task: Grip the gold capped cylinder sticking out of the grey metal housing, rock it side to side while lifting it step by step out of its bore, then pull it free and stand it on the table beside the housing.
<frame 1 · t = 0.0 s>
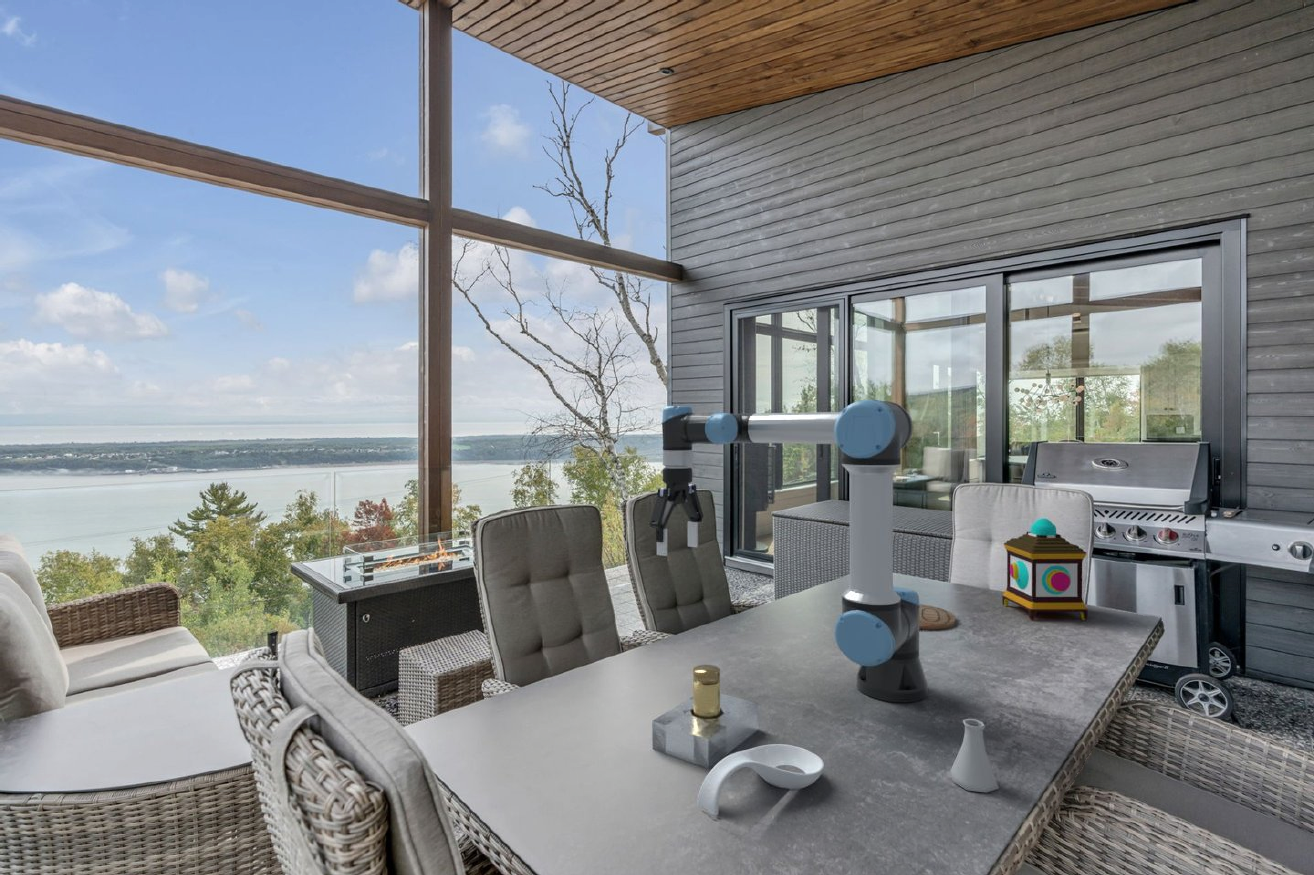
hand: (677, 551, 166), 28 cm above the table, tool pointing down, fingers open, 13 cm apart
decorative lantern: (1043, 613, 208), on the table
flask: (973, 783, 110), on the table
trivet: (911, 620, 203), on the table
spoon rest: (762, 793, 107), on the table
bore housing: (706, 743, 123), on the table
gold capped cylinder: (706, 738, 123), point 1 cm above the table, touching bore housing
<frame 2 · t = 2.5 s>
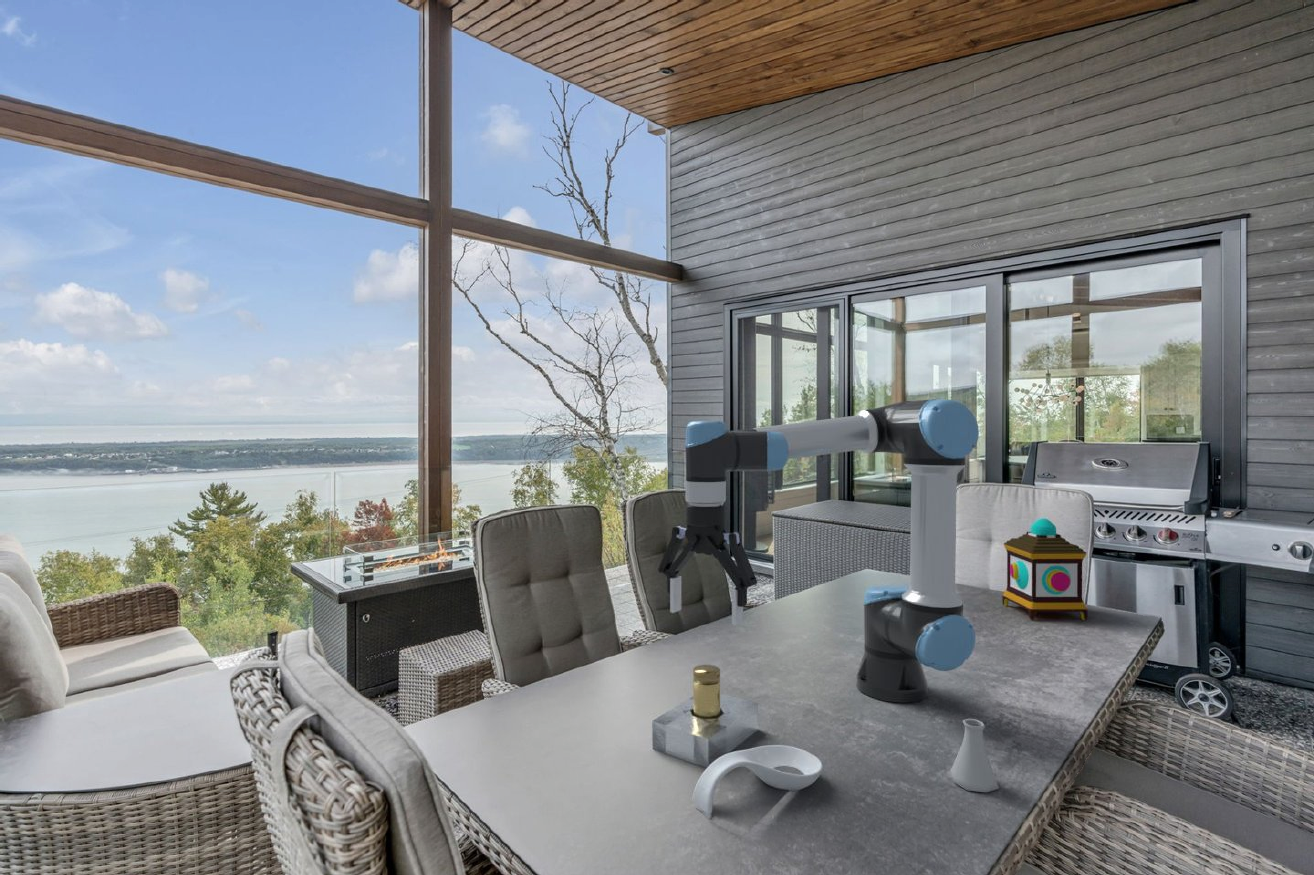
hand: (705, 617, 123), 24 cm above the table, tool pointing down, fingers open, 13 cm apart
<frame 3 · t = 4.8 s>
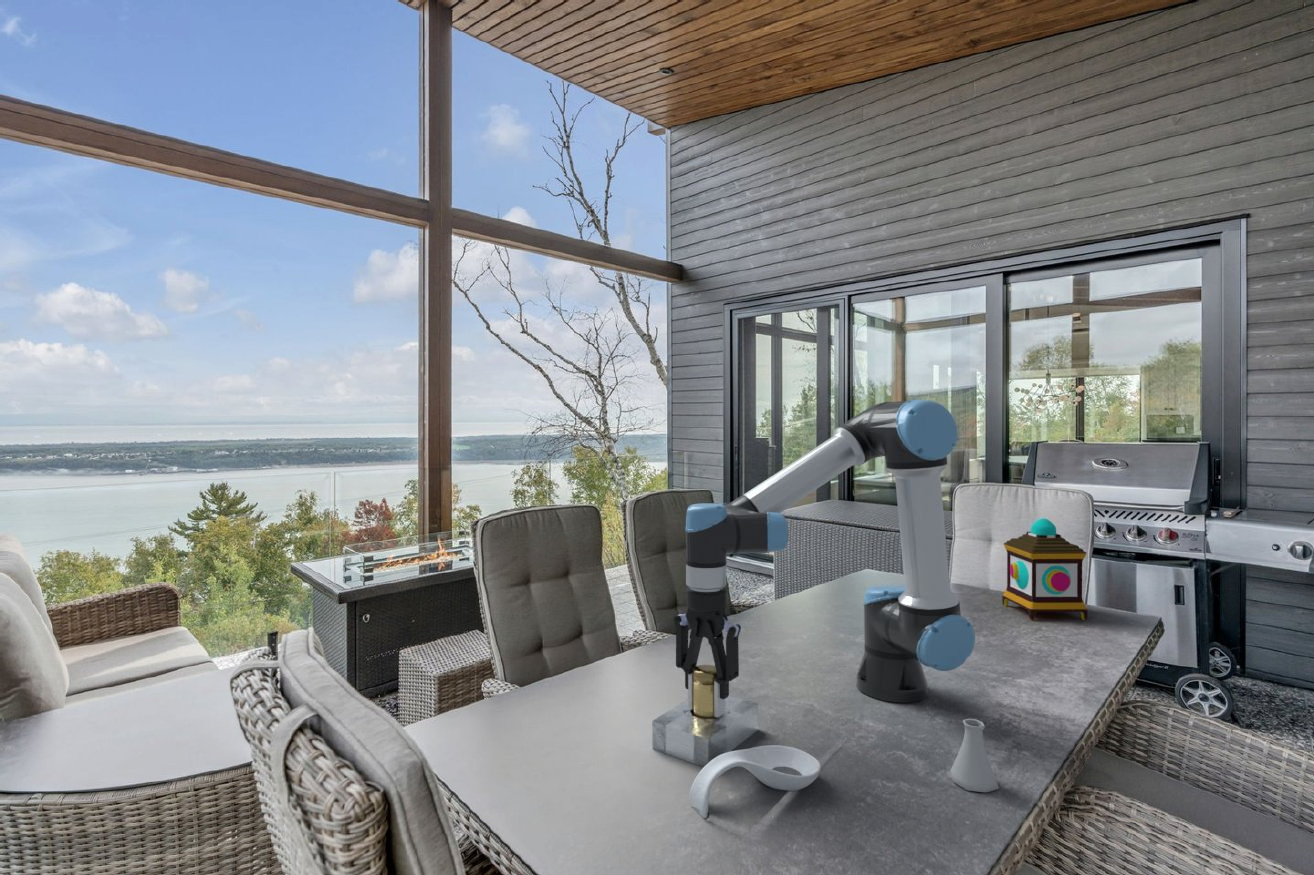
hand: (706, 710, 123), 6 cm above the table, tool pointing down, fingers closed on gold capped cylinder, 5 cm apart
gold capped cylinder: (706, 738, 123), point 1 cm above the table, touching bore housing, gripper
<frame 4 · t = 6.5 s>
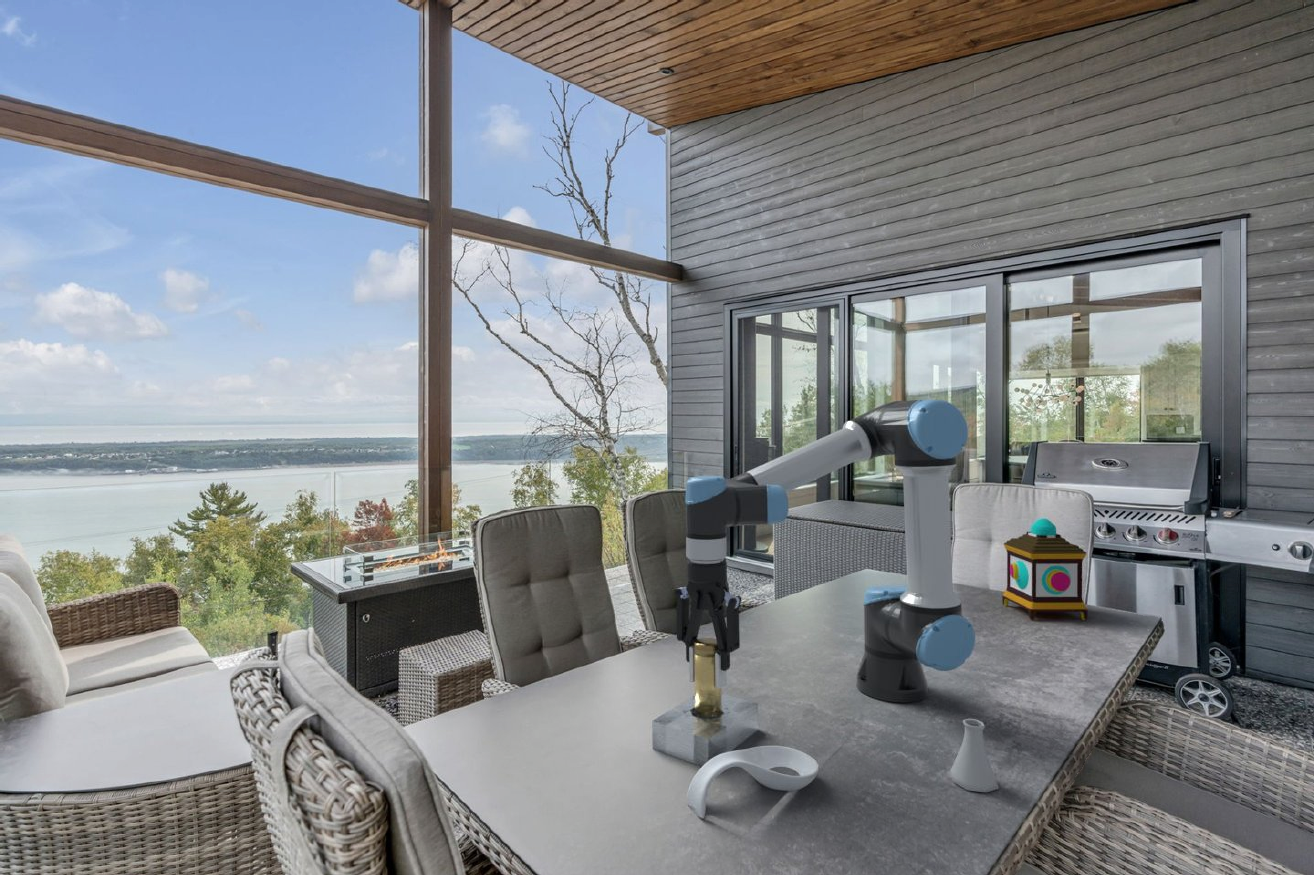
hand: (708, 682, 123), 11 cm above the table, tool pointing down, fingers closed on gold capped cylinder, 5 cm apart
gold capped cylinder: (708, 710, 123), point 6 cm above the table, touching gripper
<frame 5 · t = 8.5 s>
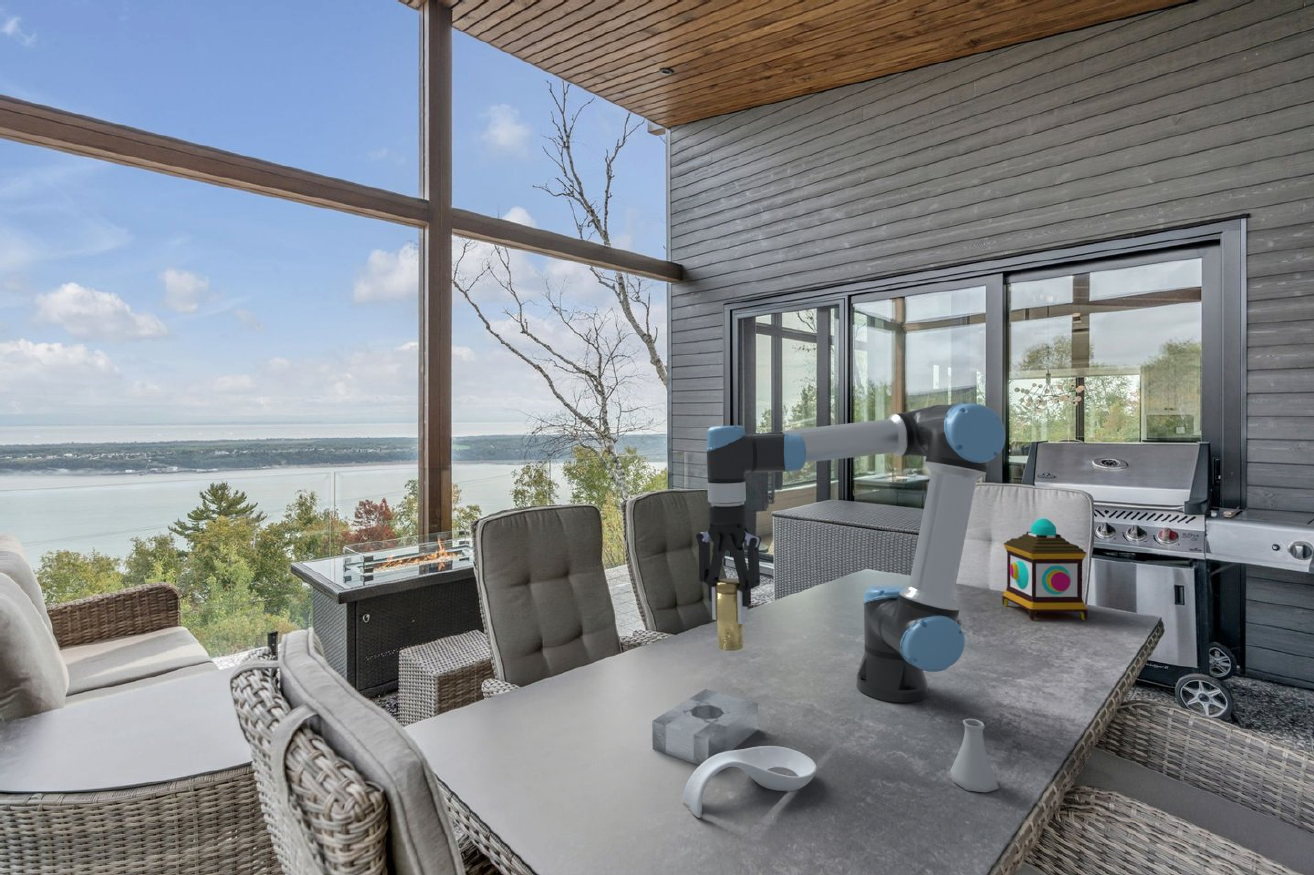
hand: (730, 619, 131), 21 cm above the table, tool pointing down, fingers closed on gold capped cylinder, 5 cm apart
gold capped cylinder: (730, 646, 131), point 16 cm above the table, touching gripper
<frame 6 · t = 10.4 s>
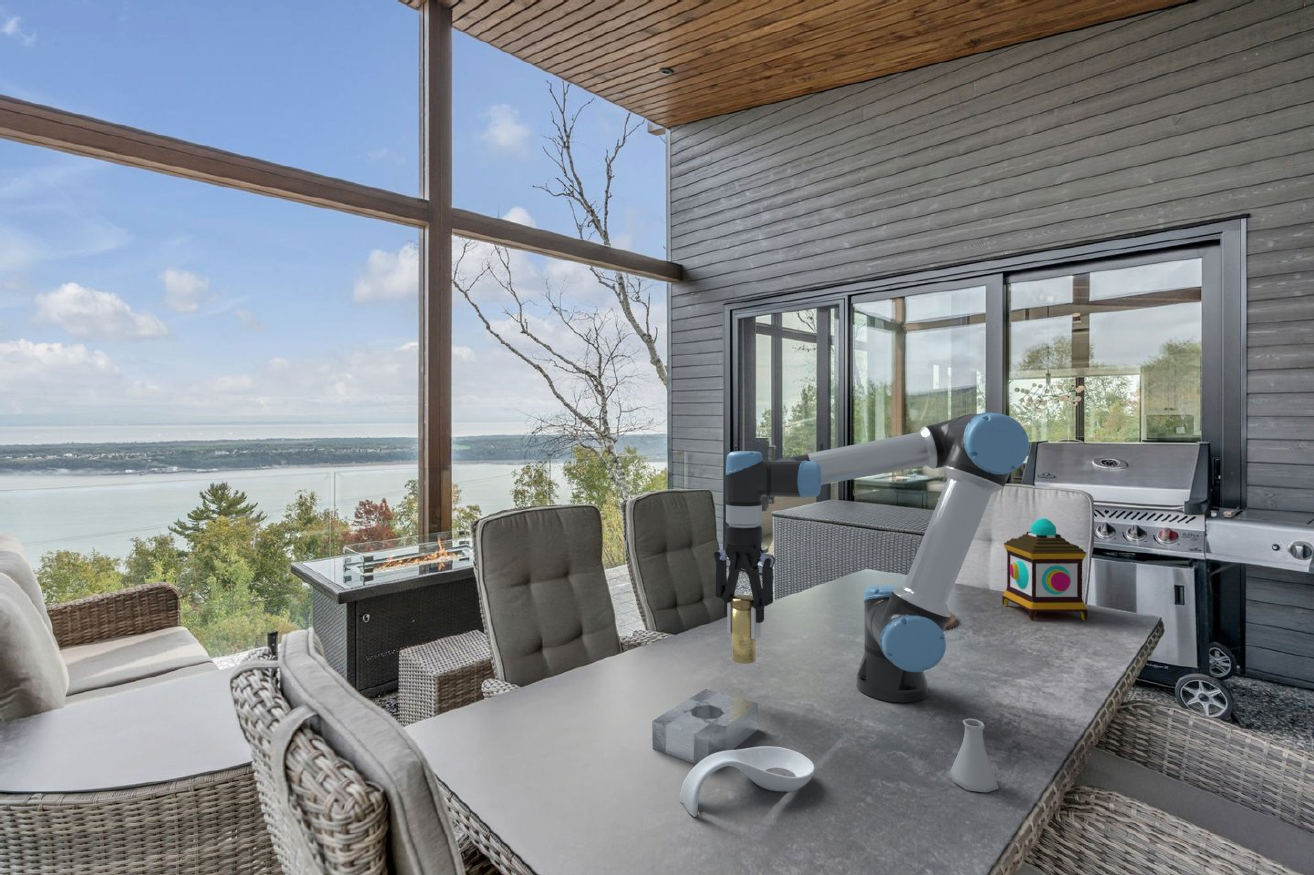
hand: (743, 634, 139), 16 cm above the table, tool pointing down, fingers closed on gold capped cylinder, 5 cm apart
gold capped cylinder: (743, 659, 139), point 10 cm above the table, touching gripper
when the fingers open (7 cm above the table, at t = 12.2 s): gold capped cylinder drops 1 cm, on the table.
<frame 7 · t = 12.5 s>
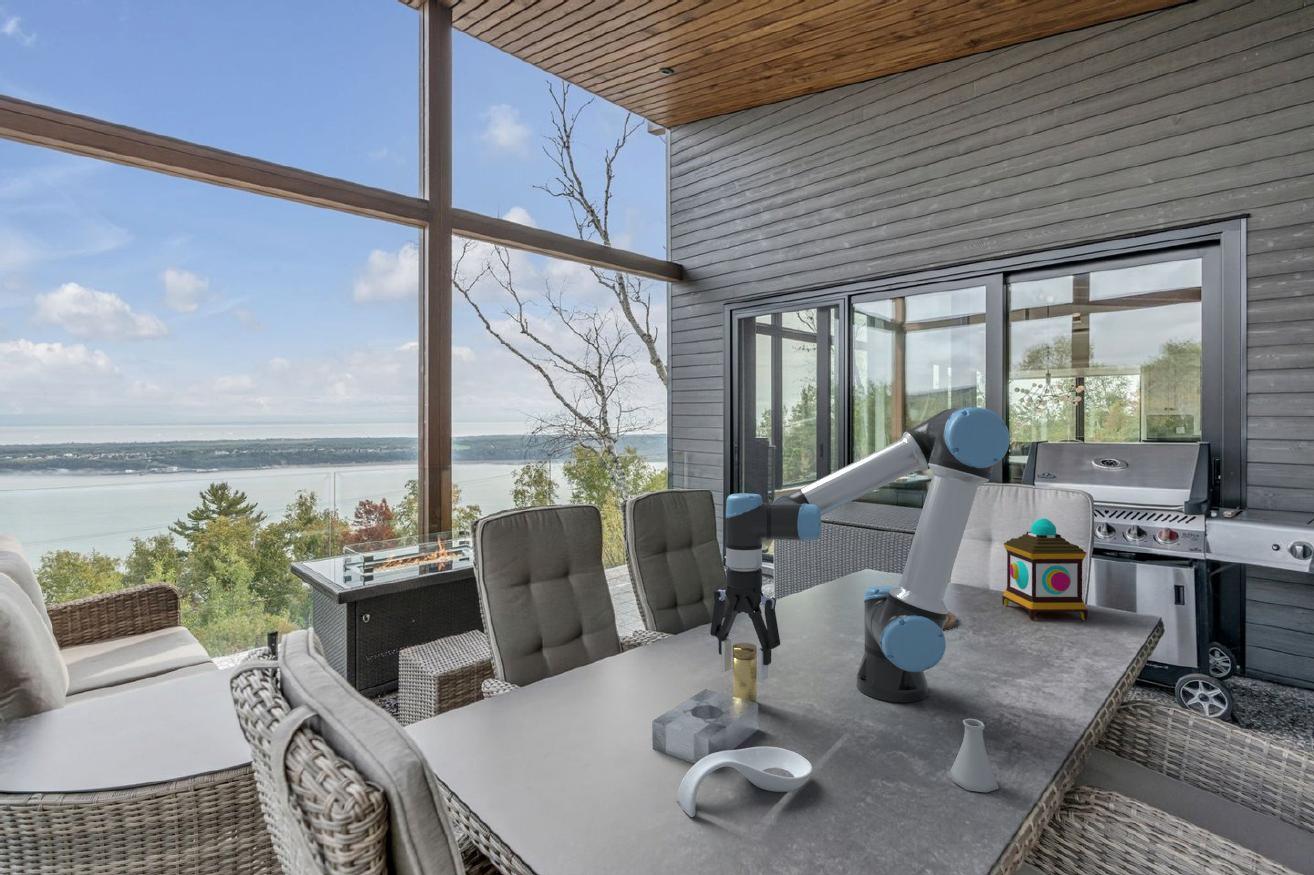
hand: (744, 674, 139), 7 cm above the table, tool pointing down, fingers open, 8 cm apart
gold capped cylinder: (744, 707, 139), on the table
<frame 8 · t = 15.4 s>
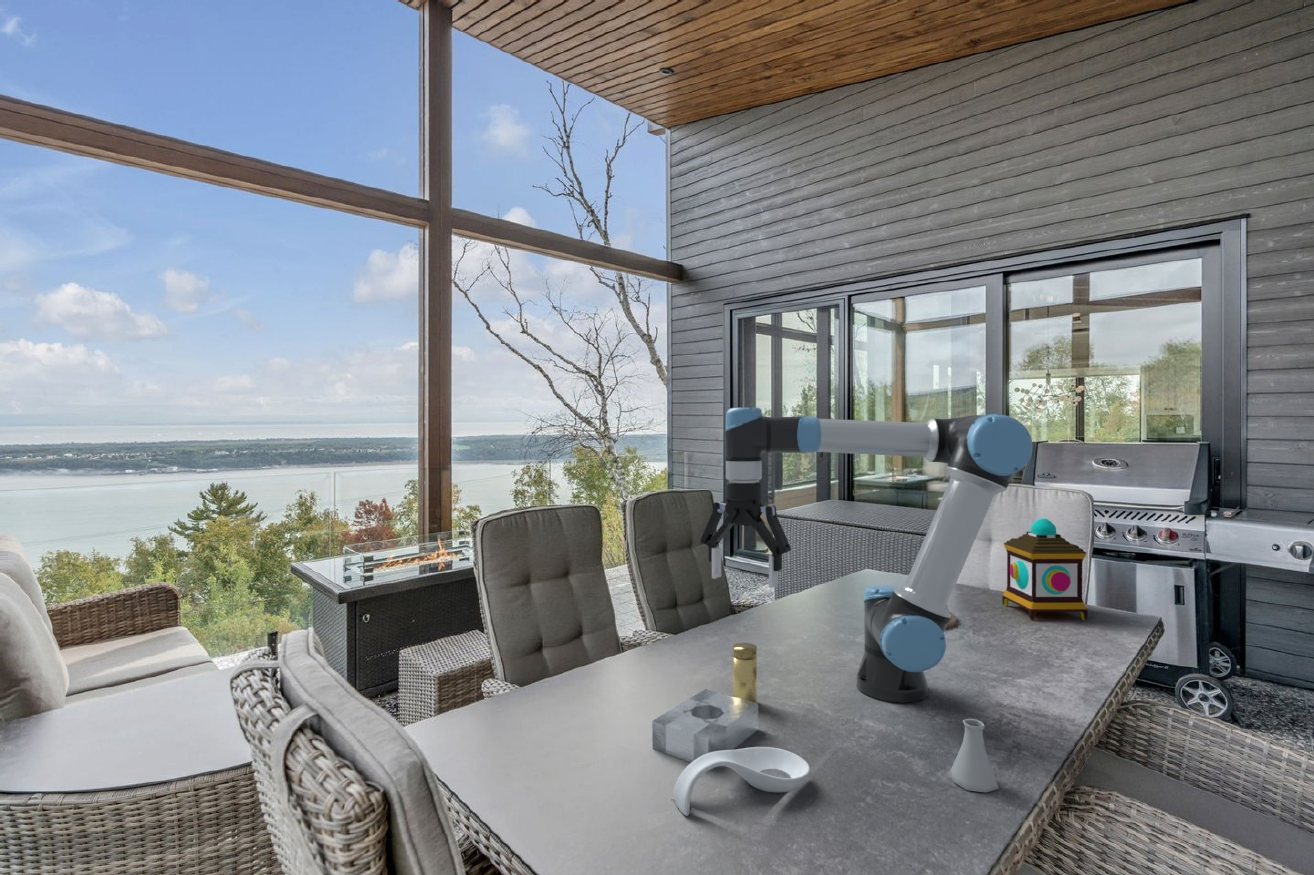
hand: (744, 581, 138), 27 cm above the table, tool pointing down, fingers open, 13 cm apart
at the end: gold capped cylinder inside the target area (0.1 cm from its centre), on the table; gold capped cylinder tilted 0°; the gripper is holding nothing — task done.
